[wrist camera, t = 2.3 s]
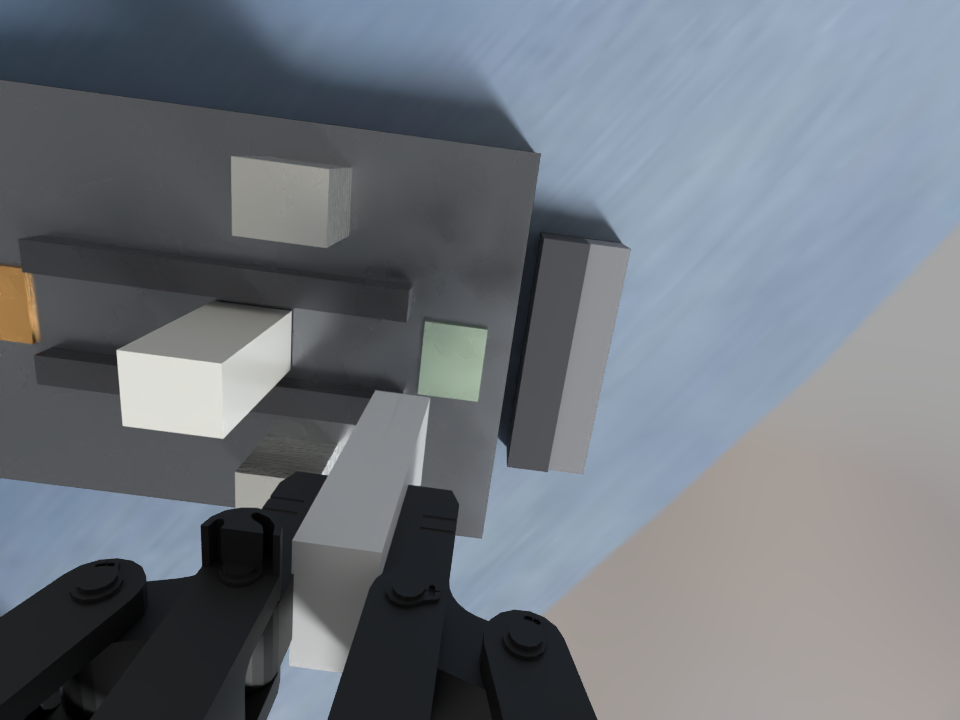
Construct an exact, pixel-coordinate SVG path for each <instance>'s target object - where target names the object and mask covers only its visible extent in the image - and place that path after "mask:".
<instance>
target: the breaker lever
mask: <svg viewBox="0 0 960 720" xmlns="http://www.w3.org/2000/svg"><path fill="white" fill-rule="evenodd" d="M291 322H292V311H288V310H280V309H273V308H265V307H258V306H250V305H242V304H235V303H227V302H219V301H212V302H210V303H208V304H206V305H204V306H202V307H200V308H198V309H196V310H194V311H192V312H190V313H188V314H186V315H184V316H182V317H180V318H178V319H176V320H174V321H172V322H170V323H168V324H167V325H165V326H163V327H161V328H159V329H157V330H155V331H153V332H151V333H149V334H147V335H145V336H143V337H141V338H139V339H137V340H135V341H133V342H131V343H129V344H127V345H125V346H123V347H121V348H119V349H117V350H116V352H117V364H118V376H119V388H120V400H121V412H122V424H123V426H127V427H135V428H142V429H150V430H158V431H166V432H174V433H182V434H189V435H197V436H205V437H213V438H221V439H224V438H225V437H226V436H227V434H228V433H229V432H230V431H231V430H232V429H233V428H234V427H235V426H236V425H237V424H238V423H239V422H240V421H241V420H242V419H243V418H244V417H245V416H246V415H247V414H248V413H249V412H250V411H251V410H252V409H253V408H254V407H255V406H256V405H257V404H258V402H259V401H260V400H261V399H262V398H263V397H264V396H265V395H266V394H267V393H268V392H269V391H270V390H271V389H272V388H273V387H274V386H275V385H276V384H277V383H278V382H279V381H280V380H281V379H282V378H283V377H284V376H285V375H286V374H287V373H288V372H289V371H290V368H291Z"/></svg>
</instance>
